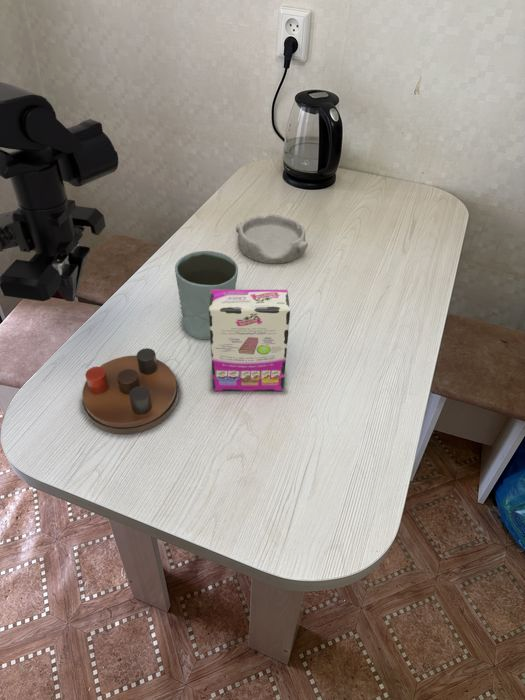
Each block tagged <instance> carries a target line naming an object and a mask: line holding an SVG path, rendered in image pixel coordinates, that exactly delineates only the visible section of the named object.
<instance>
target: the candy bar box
mask: <svg viewBox="0 0 525 700" xmlns="http://www.w3.org/2000/svg"><path fill="white" fill-rule="evenodd" d="M290 321H291V307H290V300H289V291H288V289H235V290H220V289H211V295H210V303H209V324H210V339H209V340H210V356H211V357H210V358H211V375H212V390H213V392H214V391H215V392H257V391H258V392H265V391H266V392H275V391H276V392H278V391H280V392H283V391H284V387H285V376H286V375H285V374H286V364H287V363H286V362H287V350H288V340H289V331H290V330H289V328H290Z"/></svg>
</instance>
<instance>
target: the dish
mask: <svg viewBox="0 0 525 700" xmlns="http://www.w3.org/2000/svg"><path fill="white" fill-rule="evenodd" d="M235 232H236V233H237V242H238V247H239V250H240V251H241V253H242V254H243V255H244V256H245V257H247V258H249V259H251V260H253V261H255V262H260V263H264V264H284V263H290V262H293V261H294V260H297V259H298V258H299V257H300V256H301V255H302V254H304V253H305V251H306V250H307V248H308V244H309V242H308V241H306V230H305V227H304V226H303V225H302V224H301V223H300V222H299V221H297V220H296V219H293V218H290V217H287V216H283V215H281V214H280V215H279V214H274V213H269V214H267V215H263V216H260V215H255V216H252V217H249V218H248V219H245V220H244V221H243V222H238V224H237V225H236V227H235Z"/></svg>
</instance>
